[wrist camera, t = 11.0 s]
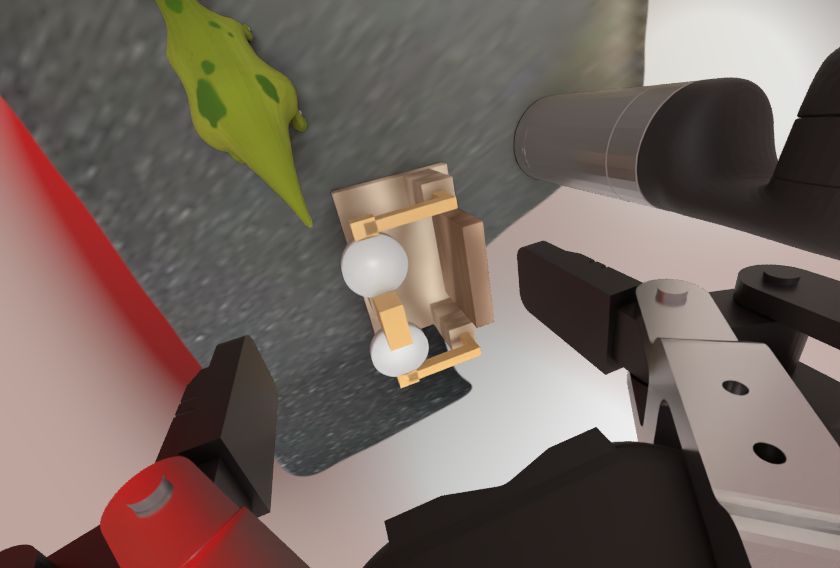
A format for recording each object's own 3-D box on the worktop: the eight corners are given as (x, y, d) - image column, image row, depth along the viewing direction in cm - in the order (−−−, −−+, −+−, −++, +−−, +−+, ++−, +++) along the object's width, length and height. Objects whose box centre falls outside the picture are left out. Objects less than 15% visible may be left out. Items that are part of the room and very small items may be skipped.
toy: (255, 24, 34) (141, -192, 19) (369, 220, 34) (345, 159, 19) (175, 65, 33) (-9, -124, 18) (291, 264, 33) (202, 238, 18)
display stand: (441, 162, 40) (484, 174, 30) (464, 306, 48) (503, 349, 39) (330, 191, 37) (341, 214, 28) (375, 337, 46) (395, 390, 37)
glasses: (441, 187, 32) (469, 199, 27) (468, 340, 41) (494, 373, 35) (324, 220, 30) (330, 241, 25) (377, 375, 39) (390, 414, 33)
